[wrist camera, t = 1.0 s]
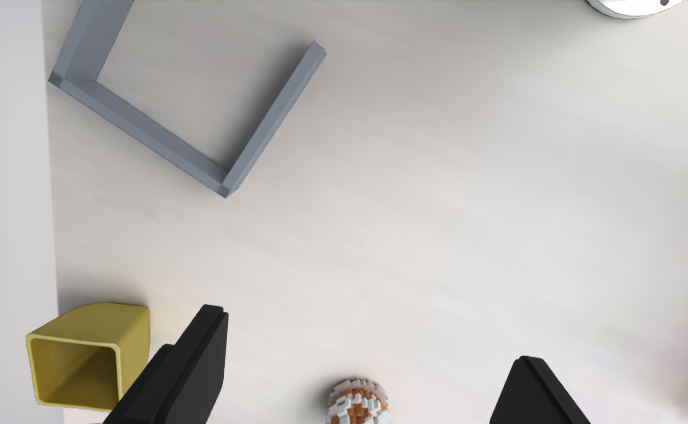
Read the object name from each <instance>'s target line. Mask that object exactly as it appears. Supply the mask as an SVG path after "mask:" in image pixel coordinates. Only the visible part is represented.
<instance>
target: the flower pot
mask: <svg viewBox="0 0 688 424" xmlns="http://www.w3.org/2000/svg"><path fill="white" fill-rule="evenodd" d="M26 346H27V351H28V356H29V363H30V368H31V374H32V381H33V388H34V394H35V399H36V401H37V403H38V404H39V405H44V406H54V407H66V408H78V409H87V410H94V411H101V412H109V413H111V411H112V410H113V409H114V407H115V406H116V405H117V404H118V402H119V401H120V400H121V398H122V397H123V396H124V394H125V393H126V392H127V391H128V389H129V388H130V387H131V385H132V384H133V383H134V381H135V380H136V379H137V378H138V376H139V375H140V374H141V372H142V371H143V370H144V368H145V367H146V365H147V362H148V357H149V349H150V324H149V309H148V308H147V307H142V306H134V305H125V304H117V303H97V304H90V305H86V306H82V307H78V308H76V309H73V310H71V311H69V312H67V313H65V314H63V315H61V316H59V317H57V318H56V319H54V320H52V321H50V322H49V323H47V324H45V325H43V326H42V327H40V328H38V329H36V330H35V331H33V332H31V333H29V334H28V335H26Z"/></svg>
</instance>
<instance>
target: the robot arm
mask: <svg viewBox="0 0 688 424" xmlns="http://www.w3.org/2000/svg"><path fill="white" fill-rule="evenodd" d="M588 1H589V3H590V4H591V5H592V6H593V7H595V8H596V9H598V10H599V11H600V12H602V13H604V14H606V15H609V16H612V17H614V18H622V19H634V18H642V17H646V16H650V15H653V14H656V13H659V12H662V11H665V10H667V9H669V8H671V7H672V6H674V5H676V4H677V3H679V2H681V1H682V0H588ZM228 317H229V314H228V313H227V312H223V307H220V306H213V305H207V304H204V305H203V306H202V307H201V309H200V310H199V312H198V313H197V314H196V316H195V317H194V319H193V320H192V321H191V323H190V324H189V326H188V327H187V328H186V330H185V331H184V332H183V334H182V335H181V337H180V338H179V339H178V341H177V342H176V344H175V345H171V344H165V345H163V346H162V347H161V348H160V349H159V350H158V351H157V353H156V354H155V355H154V357H153V358H152V359H151V361H150V362H149V363H148V364H147V366H146V367H145V368H144V370H143V371H142V372H141V374H140V375H139V376H138V378H137V379H136V380H135V381H134V383H133V384H132V385H131V387H130V388H129V389H128V391H127V392H126V393H125V394H124V396H123V397H122V398H121V400H120V401H119V402H118V404H117V405H116V406H115V407H114V409H113V410H112V411H111V413H110V414H109V415H108V417H107V418H106V419H105V420H104V422H103V423H102V424H206V422H207V420H208V418H209V415H210V413H211V411H212V409H213V406H214V404H215V402H216V400H217V398H218V395H219V393H220V391H221V388H222V384H223V379H224V368H225V355H226V342H227V330H228ZM95 424H101V423H95ZM490 424H591V423H590V422H589V420H588V419H587V418H586V416H585V415H584V414H583V412H582V411H581V410H580V408H579V407H578V406H577V404H576V403H575V402H574V400H573V399H572V397H571V396H570V395H569V393H568V392H567V391H566V389H565V388H564V387H563V385H562V384H561V383H560V381H559V380H558V379H557V377H556V376H555V374H554V373H553V372H552V370H551V369H550V368H549V366H548V365H547V364H546V362H545V361H544V360H543V359H541V358H536V357H530V356H521V357H520V358H519V359H516V360H515V361H514V363H513V365H512V368H511V370H510V373H509V375H508V378H507V380H506V382H505V385H504V387H503V390H502V392H501V394H500V397H499V399H498V402H497V404H496V407H495V409H494V411H493V414H492V416H491V419H490Z"/></svg>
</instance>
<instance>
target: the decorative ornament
mask: <svg viewBox="0 0 688 424" xmlns="http://www.w3.org/2000/svg"><path fill="white" fill-rule="evenodd" d="M386 400H387V395H386V394H385V393H384V391H383V390H382V389H381V388H380V386H379V385H376V386H374V385H373V384H372V383H371V381H369V382H367V383H366V382H365V380H363V381H361V382H360V381H359V379H357V380H355V381H353V382H350V381H349V380H347V381H345V382H343V383H341V384H339V385H338V386H336V387H334V392H332V393H330V398H329V401H328V404H327V407H328V408H329V412H328V417H327V420H326V424H391V420H390V413H389V410H388V408H387V407H388V403H387V401H386Z"/></svg>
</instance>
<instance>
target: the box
mask: <svg viewBox="0 0 688 424" xmlns="http://www.w3.org/2000/svg"><path fill="white" fill-rule="evenodd" d="M133 2H134V0H83V2H82V5H81V7H80V9H79V11H78V14H77V16H76V18H75V21H74V23H73V25H72V27H71V30H70V32H69V34H68V37H67V39H66V41H65V43H64V46H63V48H62V50H61V53H60V55H59V57H58V59H57V62H56V64H55V66H54V69H53V71H52V73H51V75H50V78H49V80H48V81H49V82H51V83H52V84H54V85H55V86H57V87H58V88H60V89H61V90H63V91H64V92H66V93H67V94H69V95H70V96H72V97H73V98H75V99H76V100H78V101H79V102H81V103H82V104H84V105H85V106H87V107H88V108H90V109H91V110H93V111H94V112H96V113H97V114H99V115H100V116H102V117H103V118H105V119H106V120H108V121H109V122H111V123H112V124H114V125H115V126H117V127H118V128H120V129H121V130H123V131H124V132H126V133H127V134H129V135H130V136H132V137H133V138H135V139H136V140H138V141H139V142H141V143H142V144H144V145H146V146H147V147H149V148H150V149H152V150H153V151H155V152H156V153H158V154H159V155H161V156H162V157H164V158H165V159H167V160H168V161H170V162H171V163H173V164H174V165H176V166H177V167H179V168H180V169H182V170H183V171H185V172H186V173H188V174H189V175H191V176H192V177H194V178H195V179H197V180H198V181H200V182H201V183H203V184H204V185H206V186H207V187H209V188H210V189H212V190H213V191H215V192H216V193H218V194H219V195H221V196H222V197H224V198H227V197H228V196H229V195H230V194H232V193H233V192H234V191H235V190H237V189H238V188H239V186H240V185H241V183H242V182H243V180H244V179H245V177H246V176H247V174H248V172H249V171H250V169H251V168H252V166H253V165H254V163H255V162H256V160H257V159H258V157H259V156H260V154H261V153H262V151H263V150H264V148H265V147H266V145H267V144H268V142H269V141H270V139H271V138H272V136H273V135H274V133H275V132H276V130H277V129H278V127H279V125H280V124H281V122H282V121H283V119H284V118H285V116H286V115H287V113H288V112H289V110H290V109H291V107H292V106H293V104H294V103H295V101H296V100H297V98H298V97H299V95H300V94H301V92H302V91H303V89H304V88H305V86H306V85H307V83H308V81H309V80H310V78H311V77H312V75H313V74H314V72H315V71H316V69H317V68H318V66H319V65H320V63H321V62H322V60H323V59H324V57H325V56H326V53H325V50H324V48H323V47H322V46H320V45H319V44H318V43H317V42H315V41H313V43H312V44H311V46H310V47H309V49H308V50H307V52H306V54H305V55H304V57H303V58H302V60H301V61H300V63H299V64H298V66H297V68H296V69H295V71H294V72H293V74H292V75H291V77H290V78H289V80H288V82H287V83H286V85H285V86H284V88H283V89H282V91H281V92H280V94H279V96H278V97H277V99H276V100H275V102H274V103H273V105H272V107H271V108H270V110H269V111H268V113H267V114H266V116H265V117H264V119H263V121H262V122H261V124H260V125H259V127H258V128H257V130H256V131H255V133H254V135H253V136H252V138H251V139H250V141H249V142H248V144H247V145H246V147H245V149H244V150H243V152H242V153H241V155H240V156H239V158H238V160H237V161H236V163H235V164H234V166H233V167H232V169H231V170H230V172H228V171H227V170H225V169H224V168H222V167H221V166H219V165H218V164H216V163H215V162H213V161H212V160H211V159H209V158H208V157H206V156H205V155H203V154H202V153H200V152H199V151H197V150H196V149H194V148H193V147H191V146H190V145H189V144H187V143H186V142H184V141H183V140H181V139H180V138H178V137H177V136H175V135H174V134H172V133H171V132H169V131H168V130H166V129H165V128H164V127H162V126H161V125H159V124H158V123H156V122H155V121H153V120H152V119H150V118H149V117H147V116H146V115H144V114H143V113H141V112H140V111H139V110H137V109H136V108H134V107H133V106H131V105H130V104H128V103H127V102H125V101H124V100H122V99H121V98H119V97H118V96H117V95H115V94H114V93H112V92H111V91H109V90H108V89H106V88H105V87H103V86H102V85H100V84H99V83H97V82H96V79H97V77H98V75H99V73H100V71H101V68H102V66H103V64H104V62H105V60H106V58H107V56H108V54H109V52H110V50H111V48H112V45H113V43H114V41H115V39H116V37H117V35H118V33H119V31H120V29H121V27H122V25H123V22H124V20H125V18H126V16H127V14H128V12H129V10H130V8H131V6H132V4H133Z"/></svg>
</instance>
